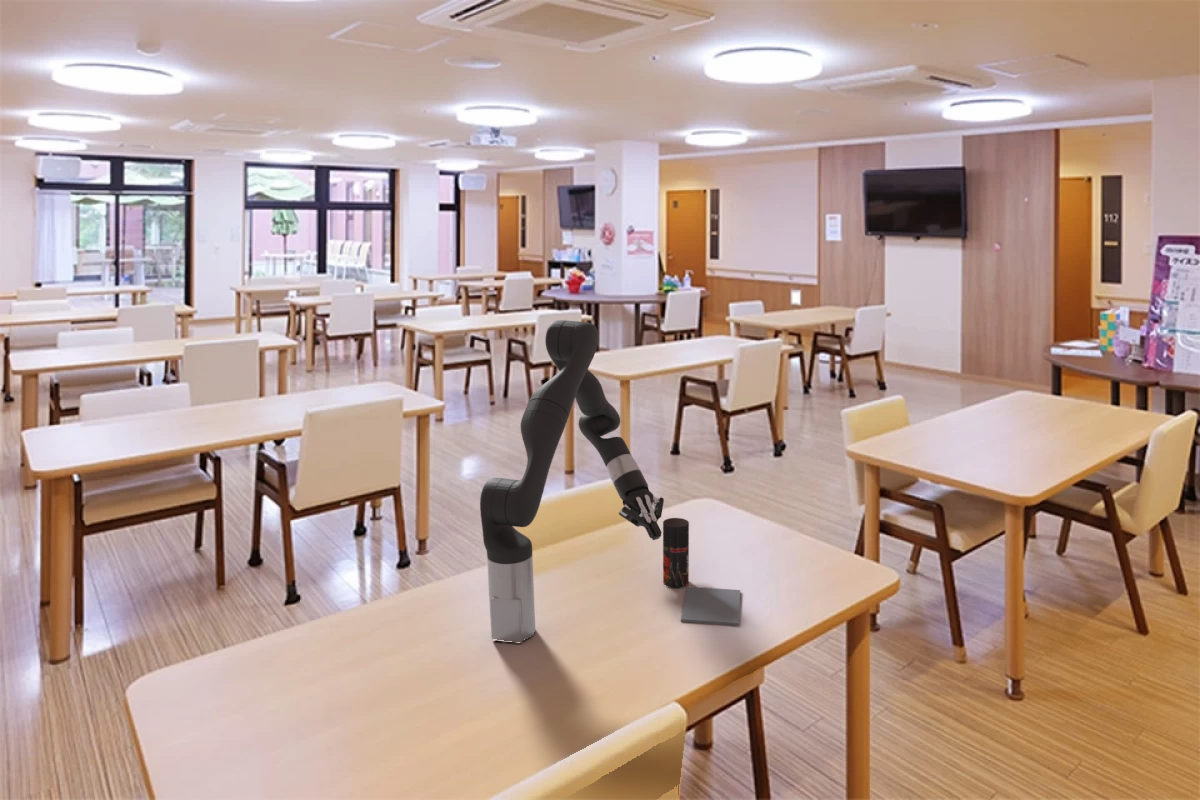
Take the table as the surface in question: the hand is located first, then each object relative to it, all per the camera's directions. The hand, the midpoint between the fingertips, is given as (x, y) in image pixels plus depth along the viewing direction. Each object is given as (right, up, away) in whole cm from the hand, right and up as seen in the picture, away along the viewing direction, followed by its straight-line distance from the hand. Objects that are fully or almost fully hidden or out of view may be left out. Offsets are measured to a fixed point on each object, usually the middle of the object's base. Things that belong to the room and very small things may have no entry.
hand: (657, 538), depth 200 cm
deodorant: (+4, -10, -4) cm, 11 cm away
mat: (+11, -12, -16) cm, 23 cm away
